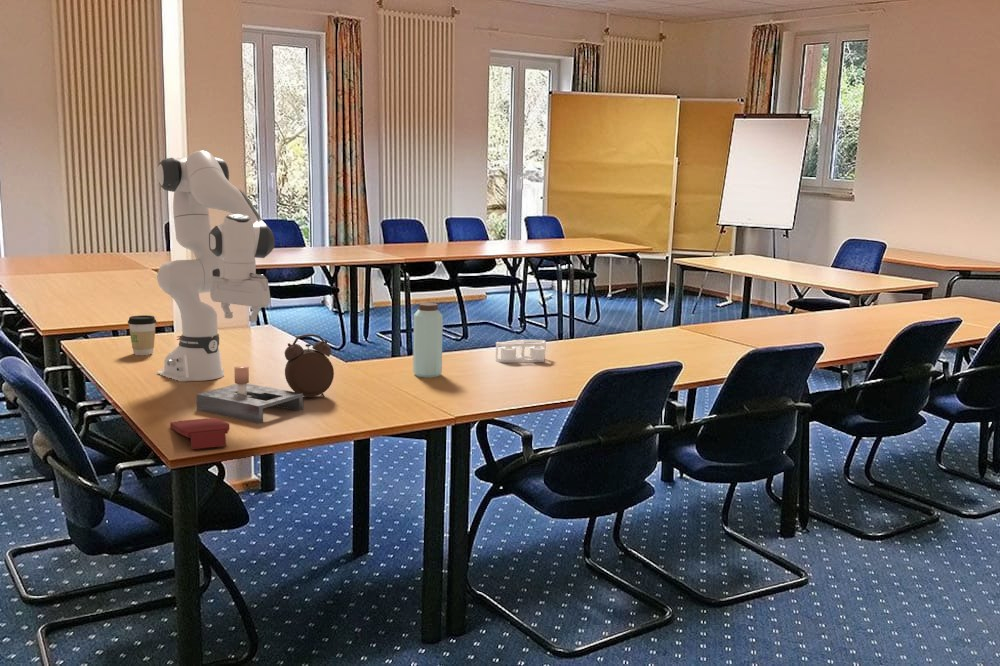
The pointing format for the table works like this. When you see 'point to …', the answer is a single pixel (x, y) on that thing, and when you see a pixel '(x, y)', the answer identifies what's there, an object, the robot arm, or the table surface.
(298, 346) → the alarm clock
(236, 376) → the peg
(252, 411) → the keyhole board
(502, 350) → the white double holder
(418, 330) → the water bottle
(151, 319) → the coffee cup
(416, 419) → the table surface
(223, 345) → the table surface
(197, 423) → the carton
